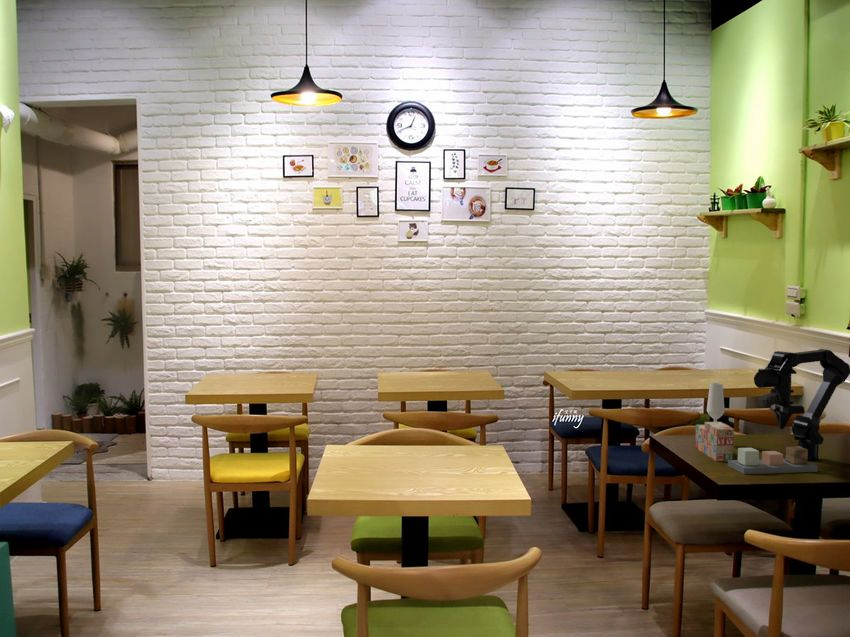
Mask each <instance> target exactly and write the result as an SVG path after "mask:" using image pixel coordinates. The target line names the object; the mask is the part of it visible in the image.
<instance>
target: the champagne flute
mask: <svg viewBox="0 0 850 637" xmlns="http://www.w3.org/2000/svg"><path fill="white" fill-rule="evenodd" d="M723 385H724V384H723V383H722V382H710V383H709V388H708V389H709V390H708V396H707V397H708V398H707V406H706V412H707V413H708V415H709V416H710V418H712V419H713V422H718V420H719V419H720V418H721V417H722V416H723V415H724V414H725V412H726V411H725V399H724V398H725V396H724V386H723Z"/></svg>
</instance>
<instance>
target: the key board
mask: <svg viewBox="0 0 850 637" xmlns="http://www.w3.org/2000/svg"><path fill="white" fill-rule="evenodd" d="M727 466H728V467H729V468H731V469H732V470H733V469H734V470H735V471H737V472H738V473H741V474H743V475H755V474H760V475H761V474H787V473H791V474H793V473H815V472H819V466H818V465H816V464H814V463H812V462H810V461H807V464H792V463H790V462H788V461H786V458H783V465H767V464H765V463H763V462H762V458H761V459H760V458H759V465H749V466H745V465H743V464H741V463H739V462H738V459H733V460H728V461H727Z"/></svg>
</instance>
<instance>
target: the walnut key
mask: <svg viewBox="0 0 850 637" xmlns="http://www.w3.org/2000/svg"><path fill="white" fill-rule="evenodd" d="M785 459H786V461H788V462H790V463H792V464H807V462H808V460H807V459H808V449H805V448H802V447H800V446H797V445H795V446H786V447H785Z"/></svg>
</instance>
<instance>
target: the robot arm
mask: <svg viewBox="0 0 850 637" xmlns="http://www.w3.org/2000/svg"><path fill="white" fill-rule="evenodd" d="M815 362H819V365H820V366H821V368H822V369H823V371H822V382H821V383H820V386H819V388H818V389H817V391H816V393H815V395H814V397H813V399H812V400H811V402H810V404H809V406H808V408H807V409H805V406H803V405H802V404H798V403H794V400H792V397H791V396H792V394H794V392H795V391H794V389H792V375H795V374H797V371H796V370H795V368H796V367H797V366H799V365H801V364H807V363H815ZM849 376H850V364H849V363H847V362H845V360H844V359H842V358H840V357H839V356H838V355H836V354H835V353H834V352H833V351H832V350H830V349H825V348H819V349H816V350H806V351H799V352H797V351H796V352H791V351H783V350H782V351H774V352H773V354H772V355H771V358H770V359H769V361H768V363H767V364H766V365H765V368H758V370H757V372H756V373H755V375H754V377H753V383H754V385H755V387H757V388H758V389H763V388H764V389H765V388H770V392H769V393H766V394H763V395H761V396H758V397H757V400H758V403H759V407H763V408H764V409H767V408H768V409H769V411H771V412H772V413H774V415H775V419H776V421H777V424H778V429H779V430H784V429H785V428H786V425H787V424H788V423H789V420H790V419H791V417H792V415H796V416H795V419H794V421H793V422H792V423H791V424H792V427H791V432H792V434H793V438H794V440H795V441H797V445H796V446H800V447H802V448H805V449H808V459H807V461H822V458H820V457H819V451H820V450H819V448H820V447H819V446H820V445H822V444H823V442H824V437H823V436H822V435H821V434H820V432H819V430H820V419H821V416H822V415H823V413H824V411H825V409H826V407H827V405H828V403H829V402H830V400H831V398H832V397H833V395H834V392H835V391H836V389H837V387H838V386H839V385H841V384H843V383H844V382H846V380H847V379H848V378H849ZM770 407H771V408H770ZM805 410H806V412H805Z"/></svg>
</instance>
